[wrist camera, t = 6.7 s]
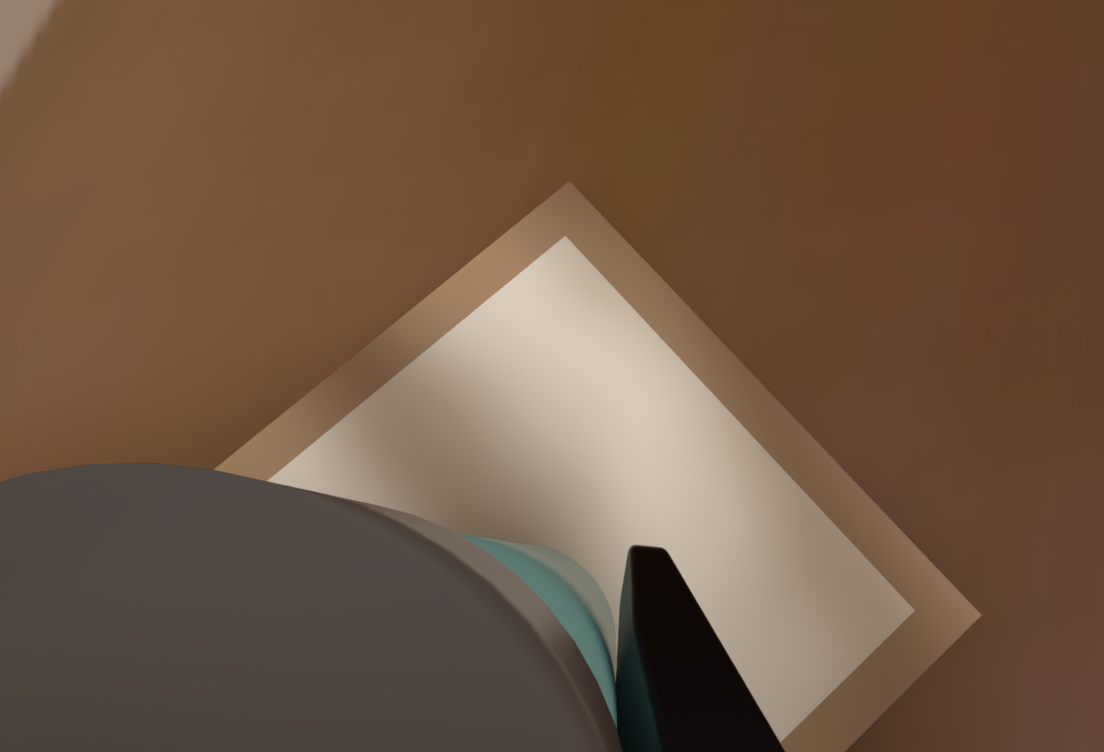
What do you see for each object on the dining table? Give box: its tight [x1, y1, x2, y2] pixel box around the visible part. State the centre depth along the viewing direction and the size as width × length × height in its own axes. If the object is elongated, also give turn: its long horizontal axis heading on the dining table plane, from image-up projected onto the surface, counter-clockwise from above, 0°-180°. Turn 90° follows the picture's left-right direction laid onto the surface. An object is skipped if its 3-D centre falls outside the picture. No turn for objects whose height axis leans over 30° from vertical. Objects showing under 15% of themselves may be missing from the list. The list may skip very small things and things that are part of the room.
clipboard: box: [214, 181, 981, 752], centre depth 17 cm, size 15×13×1 cm
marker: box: [0, 463, 623, 752], centre depth 9 cm, size 4×4×13 cm
